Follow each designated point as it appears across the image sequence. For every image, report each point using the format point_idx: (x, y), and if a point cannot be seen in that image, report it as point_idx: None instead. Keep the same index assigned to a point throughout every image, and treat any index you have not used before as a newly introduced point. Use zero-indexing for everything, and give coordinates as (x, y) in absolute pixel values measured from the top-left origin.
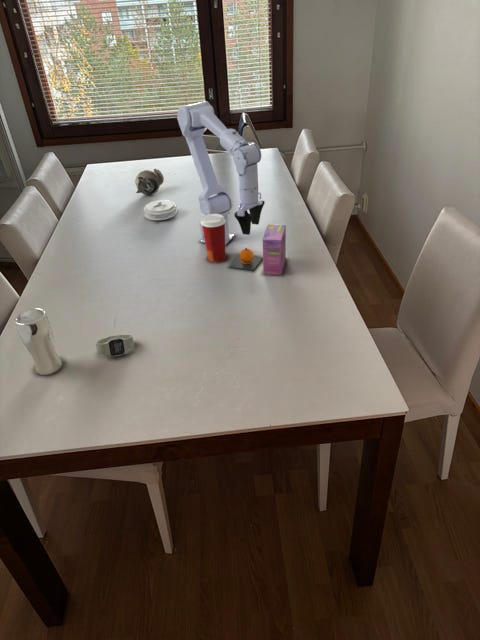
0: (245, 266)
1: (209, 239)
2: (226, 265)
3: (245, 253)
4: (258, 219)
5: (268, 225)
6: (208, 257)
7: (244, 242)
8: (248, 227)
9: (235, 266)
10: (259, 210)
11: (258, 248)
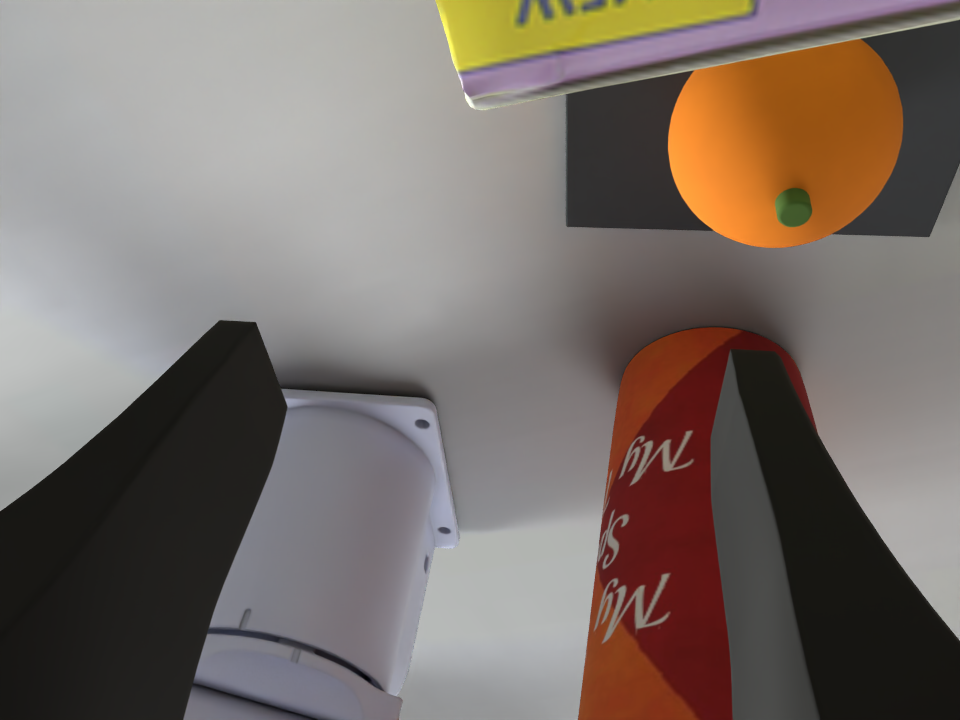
0: (923, 52)
1: None
2: (863, 273)
3: (880, 167)
4: (204, 400)
5: (536, 59)
6: None
7: (280, 269)
8: (841, 506)
9: (922, 176)
10: (70, 585)
11: (327, 77)
